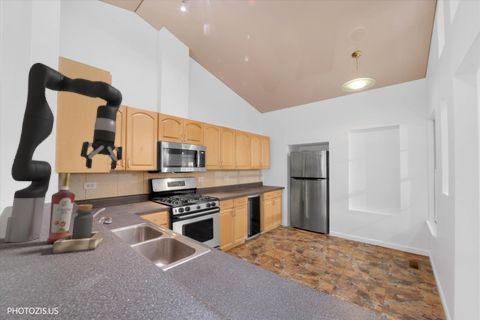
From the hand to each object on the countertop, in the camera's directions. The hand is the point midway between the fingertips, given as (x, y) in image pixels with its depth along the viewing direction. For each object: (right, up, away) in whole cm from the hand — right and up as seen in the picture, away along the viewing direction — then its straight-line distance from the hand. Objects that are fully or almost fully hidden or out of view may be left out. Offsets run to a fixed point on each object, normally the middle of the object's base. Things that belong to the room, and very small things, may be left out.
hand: (101, 169), depth 80 cm
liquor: (-17, -30, -1) cm, 34 cm away
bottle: (-4, -29, -5) cm, 30 cm away
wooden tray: (-4, -30, -6) cm, 30 cm away
